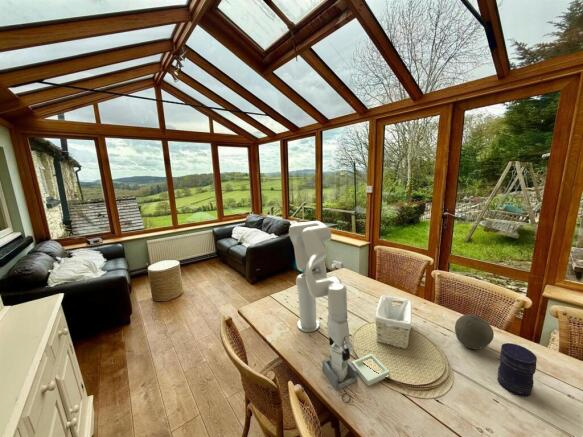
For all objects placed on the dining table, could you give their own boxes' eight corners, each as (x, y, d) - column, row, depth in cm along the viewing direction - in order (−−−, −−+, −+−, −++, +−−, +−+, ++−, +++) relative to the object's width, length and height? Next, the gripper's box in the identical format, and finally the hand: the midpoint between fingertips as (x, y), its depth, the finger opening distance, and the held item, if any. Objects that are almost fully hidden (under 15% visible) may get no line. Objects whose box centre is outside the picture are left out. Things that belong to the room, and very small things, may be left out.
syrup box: (336, 367, 104) (335, 338, 102) (348, 374, 101) (348, 344, 98) (329, 376, 100) (328, 346, 97) (342, 383, 96) (341, 352, 94)
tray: (351, 366, 105) (351, 361, 104) (371, 358, 108) (371, 353, 108) (368, 386, 94) (368, 381, 94) (389, 376, 98) (389, 371, 98)
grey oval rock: (475, 360, 104) (478, 330, 101) (446, 339, 117) (448, 312, 114) (498, 352, 107) (502, 323, 104) (468, 332, 121) (471, 306, 118)
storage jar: (495, 386, 91) (499, 353, 88) (498, 370, 98) (502, 339, 95) (531, 403, 84) (537, 367, 81) (532, 385, 91) (537, 351, 88)
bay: (322, 370, 103) (322, 360, 102) (342, 362, 107) (342, 352, 106) (335, 390, 94) (335, 379, 93) (357, 380, 97) (357, 370, 96)
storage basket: (380, 316, 139) (380, 293, 136) (411, 323, 131) (412, 299, 128) (374, 343, 118) (374, 316, 115) (410, 352, 110) (411, 324, 108)
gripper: (319, 306, 101) (321, 341, 104) (342, 328, 86) (343, 369, 88) (334, 301, 104) (335, 336, 107) (359, 322, 88) (360, 363, 91)
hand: (339, 351), depth 98 cm, fingers open, 9 cm apart
